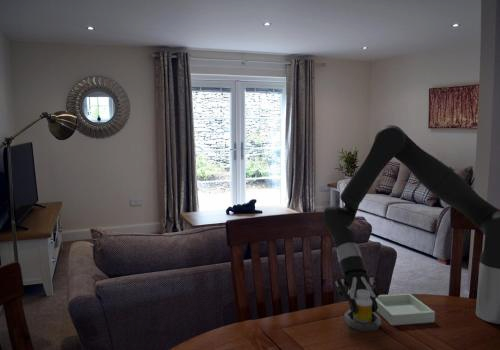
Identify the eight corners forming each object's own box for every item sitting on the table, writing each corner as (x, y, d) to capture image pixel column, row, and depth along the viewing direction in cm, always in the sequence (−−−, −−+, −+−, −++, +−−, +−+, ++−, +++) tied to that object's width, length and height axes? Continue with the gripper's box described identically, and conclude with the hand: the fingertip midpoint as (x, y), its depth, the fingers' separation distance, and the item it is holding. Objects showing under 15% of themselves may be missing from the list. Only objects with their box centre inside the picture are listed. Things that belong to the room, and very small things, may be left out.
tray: (408, 302, 135) (409, 293, 135) (434, 322, 121) (435, 312, 121) (370, 304, 133) (370, 295, 132) (391, 325, 119) (392, 315, 119)
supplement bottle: (372, 327, 118) (373, 296, 116) (353, 325, 119) (354, 294, 118) (370, 319, 123) (372, 289, 122) (352, 317, 124) (353, 287, 123)
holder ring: (370, 313, 126) (370, 307, 126) (385, 329, 117) (386, 323, 116) (340, 315, 125) (340, 309, 125) (353, 332, 115) (353, 325, 115)
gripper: (332, 255, 125) (346, 309, 114) (375, 253, 127) (393, 306, 117) (326, 266, 130) (338, 318, 120) (367, 264, 133) (383, 314, 123)
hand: (365, 311), depth 119 cm, fingers closed on supplement bottle, 5 cm apart
